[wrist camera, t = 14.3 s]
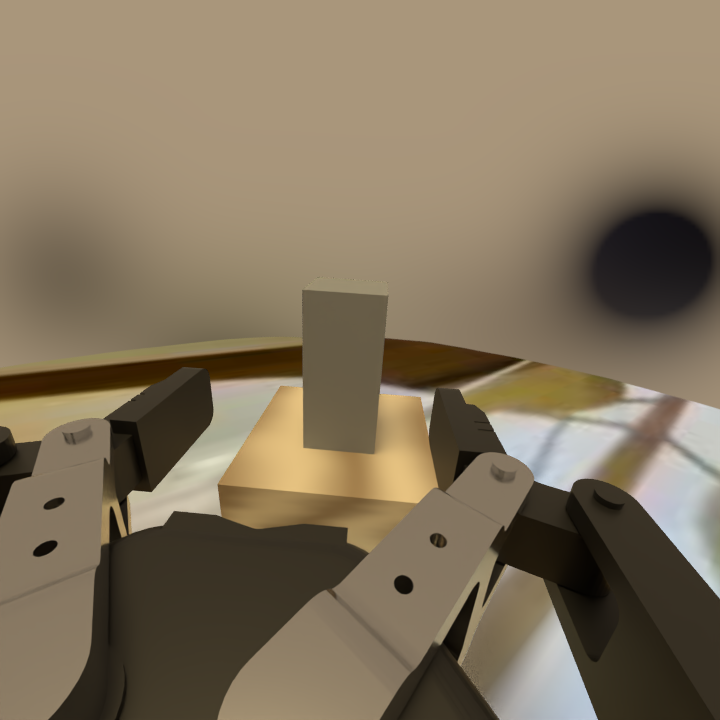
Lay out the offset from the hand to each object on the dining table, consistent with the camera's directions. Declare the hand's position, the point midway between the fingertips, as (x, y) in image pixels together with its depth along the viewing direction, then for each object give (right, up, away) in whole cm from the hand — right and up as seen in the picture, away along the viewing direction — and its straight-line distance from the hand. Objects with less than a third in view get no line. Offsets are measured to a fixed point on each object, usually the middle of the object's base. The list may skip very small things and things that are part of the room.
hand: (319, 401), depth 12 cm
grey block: (0, -3, +12) cm, 12 cm away
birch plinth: (0, -8, +13) cm, 16 cm away
